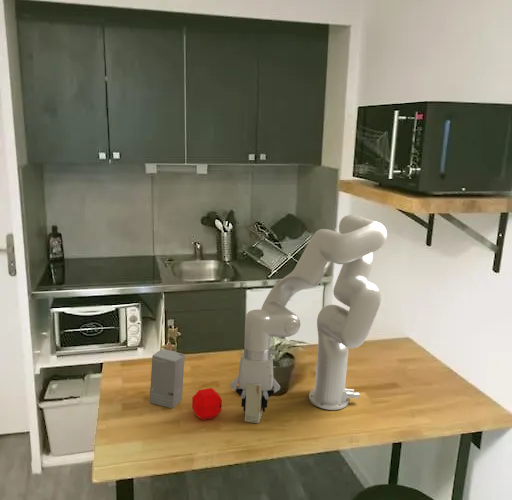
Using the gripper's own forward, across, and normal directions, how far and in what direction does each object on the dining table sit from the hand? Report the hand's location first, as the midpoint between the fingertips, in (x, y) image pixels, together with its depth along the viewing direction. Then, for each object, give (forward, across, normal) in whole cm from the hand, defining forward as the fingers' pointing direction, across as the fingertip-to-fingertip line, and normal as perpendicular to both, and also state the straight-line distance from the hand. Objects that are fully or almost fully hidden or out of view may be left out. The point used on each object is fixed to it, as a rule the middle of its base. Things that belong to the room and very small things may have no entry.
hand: (254, 408), depth 156 cm
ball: (+3, +14, 0) cm, 14 cm away
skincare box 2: (+3, 0, 0) cm, 3 cm away
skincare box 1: (+3, +27, -7) cm, 28 cm away
